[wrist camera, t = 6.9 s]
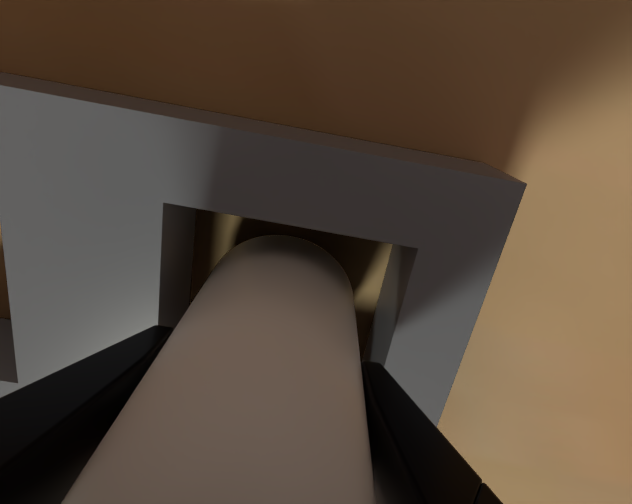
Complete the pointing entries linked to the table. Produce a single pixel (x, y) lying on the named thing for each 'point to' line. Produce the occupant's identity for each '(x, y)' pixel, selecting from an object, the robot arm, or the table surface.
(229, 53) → the table surface
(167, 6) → the table surface
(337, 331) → the bottle
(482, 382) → the table surface
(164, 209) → the socket panel
